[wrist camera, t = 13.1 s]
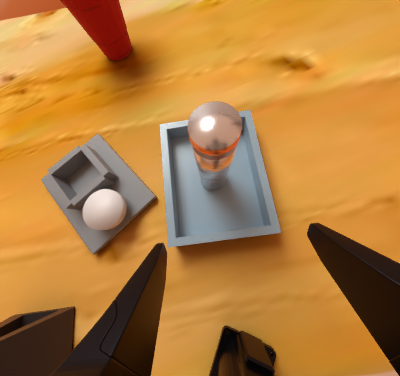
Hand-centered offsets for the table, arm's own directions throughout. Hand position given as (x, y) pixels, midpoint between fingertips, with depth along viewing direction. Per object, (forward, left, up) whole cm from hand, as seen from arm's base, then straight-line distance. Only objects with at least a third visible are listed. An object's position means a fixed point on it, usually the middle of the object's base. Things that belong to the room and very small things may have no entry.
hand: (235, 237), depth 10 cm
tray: (+7, +4, -14) cm, 16 cm away
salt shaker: (+7, +4, -13) cm, 15 cm away
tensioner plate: (-1, +21, -14) cm, 25 cm away
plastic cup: (+28, +33, -14) cm, 45 cm away
